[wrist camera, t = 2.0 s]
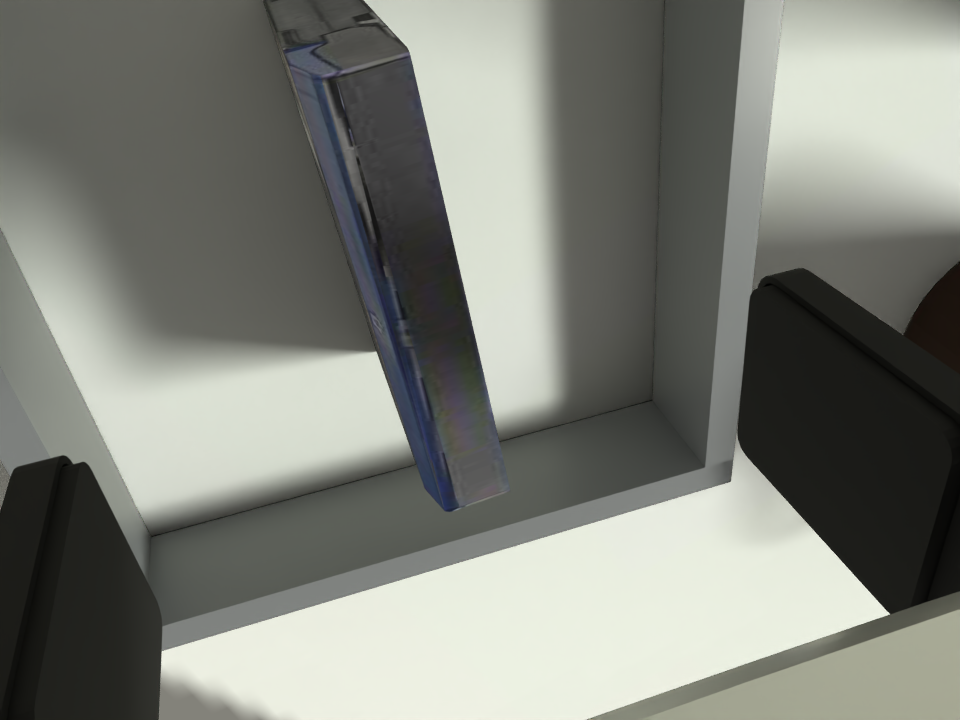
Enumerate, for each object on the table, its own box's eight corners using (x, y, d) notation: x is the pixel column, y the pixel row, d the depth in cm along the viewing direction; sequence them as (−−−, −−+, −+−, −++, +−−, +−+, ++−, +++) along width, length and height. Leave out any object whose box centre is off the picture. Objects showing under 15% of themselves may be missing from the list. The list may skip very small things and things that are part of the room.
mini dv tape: (261, -4, 15) (293, 81, 10) (340, -24, 15) (408, 49, 10) (376, 350, 20) (434, 521, 15) (434, 331, 20) (511, 494, 15)
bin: (-329, -302, 11) (-476, -336, 8) (720, -393, 14) (833, -439, 11) (129, 566, 21) (121, 662, 19) (676, 415, 24) (730, 481, 21)
